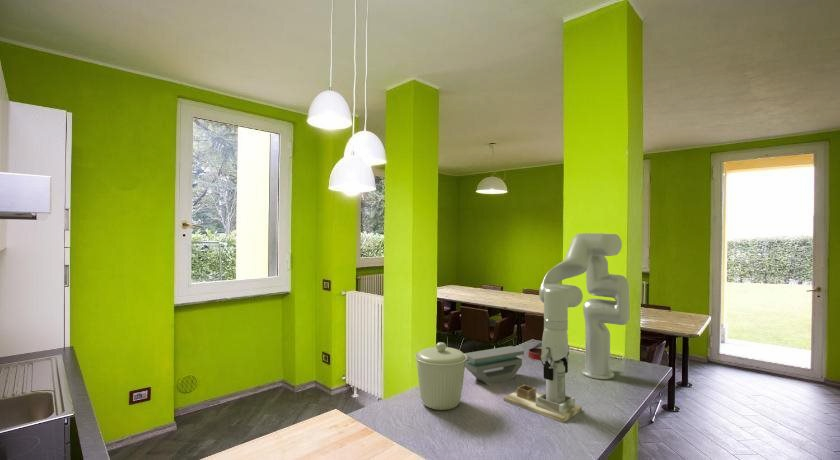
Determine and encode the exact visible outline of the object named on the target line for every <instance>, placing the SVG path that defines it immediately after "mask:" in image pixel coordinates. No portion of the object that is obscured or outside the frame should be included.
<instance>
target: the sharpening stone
mask: <svg viewBox="0 0 840 460" xmlns="http://www.w3.org/2000/svg"><path fill="white" fill-rule="evenodd" d="M463 353H464V352H463ZM464 354H466V355H467V360H466V361H465V368H466V370H467V371H468V372H470V373H471V375H473V376H474V377H475V378H476V379H477V380H479V381H481V382H482V383H485V384H487V385H488V386H490V385H494V384H498V383H503V382H508V381H512V380H513V378H514V377H515V375H516V374H517V373H518V371H519V369H520V368H521V366H522V365H523V359H522V358H520V357H518V356H522V355H523V356H524V355H525V350H523V349H520V348H519V347H515V346H514V345H508V346H502V347H497V348H496V347H495V348H491V349H490V348H489V349H484V350H477V351H472V352H471V351H470V352H465V353H464Z"/></svg>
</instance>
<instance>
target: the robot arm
mask: <svg viewBox="0 0 840 460" xmlns="http://www.w3.org/2000/svg"><path fill="white" fill-rule="evenodd" d="M622 244H623V243H622V239H621V237H620V236H619V235H618V234H617V233H602V232H599V233H596V232H595V233H594V232H593V233H591V232H589V233H587V232H585V233H583V232H582V233H577V234H576V235H574V237H573V238H572V239H571V242H570V245H569V247H568V250H567V252H566V255H565V258H564V260H562V261H561V262H559V263H558V264H555V266H553V267H552V268H551V269H549V270H548V271H547V272H546V274H545V275H544V277H543V280H542V282H541V284H540V287H539V293H538V295H539V296H538V297H539V299H540V301H541V302H542V303H543V331H542V332H543V333H542V338H541V343H542V347H541V349H542V355H541V360H540V361H541V364H542V367H543V379H545V380H546V379H547V380H551V381H552V380H553V368H552V366H553V363H554V361H557V360H562V361H563V364H564V366H565V374H568V373H569V372H568V371H569V368H568V367H569V355H570V348H571V345H569V338H568V328H569V327H568V326H569V325H568V324H569V323H568V322H569V321H568V320H569V319H568V317H569V316H568V313H569V312H568V311H569V309H568V308H576V307H578V306H579V305H580V304H581V303H582V301H583V297H584V295H583V291H582V289H581V288H580V287H578V286H576V285H572V284H564V283H563V284H562V283H559V282H561V281H563V280H567V279H570V278H574V277H578V276H580V275H583V274H584V273H585V276H586V277H585V279H586V281H585V282H586V291H587V293H588V294H589V295H591V296H595V297H603V298H613V299H614V300H611V299H602V298H589V299H587V300H585V301H584V303H583V306H582V310H583V311H582V313H583V316H584V317H583V318H584V323H585V324H584V328H585V329H584V331H585V333H584V334H585V335H584V337H585V345H584V347H585V349H584V350H585V353H584V360H585V361H584V363H585V364H584V367H582V368H581V369H580V370H581V374H582V375H583V376H586V377H588V378H592V379H597V380H611V379H614V378H615V373H614V371H612V370H611V366H612V365H613V364H612V362H611V333H610V330H609V328H608V326H607V325H606V324H610V325H618V326H625V325H626V324H628V323H629V320H630V286H629V282H628V279H627V278H626V277H625V276H624V275H621V274H614V273H613V274H612V273H611V274H610V273H609V261H608V259H607V258H606V257H613V256H617V255H619V253H620V252H621V250H622V248H623V247H622V246H623V245H622ZM548 357H550V358H548ZM548 361H551V362H550V364H549V362H548Z"/></svg>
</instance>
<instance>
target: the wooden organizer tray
mask: <svg viewBox="0 0 840 460" xmlns="http://www.w3.org/2000/svg"><path fill="white" fill-rule="evenodd" d="M503 401H504V402H506V403H509V404H512V405H514V406H517V407H519V406H520V408H522V409H525V410H527V411H530V412H533V413H536V414H539V415H541V416H544V417H547V418H549V419H552V420H554V421H557V422H560V423H562V424H563V423H564V422H566V421H568V420H569V419H571V418H572V417H574V416H575V415H577V414H578V413H580V412H581V411H582V410H583V409H582V406H581V405H577V404H575V403H576V398H575V397H572V396H570V395H567V394H565V402H563V403H562V404H558V403H555V402H552V401H549V400H546V391H545V392H543V393H541V392H539V391H537V388H536V387H533V386H530V385H527V384H522V385H519V386H518V387H516V391H514V392H512V393H510V394H507V395H506V396H503Z"/></svg>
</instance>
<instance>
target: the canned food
mask: <svg viewBox="0 0 840 460" xmlns="http://www.w3.org/2000/svg"><path fill="white" fill-rule="evenodd" d="M541 355H542V342H540V343H538V344H536V345H535V346H533V347H531V348H529V349H528V358H530V359H531V360H532V359H533V360H536V361H542V360H541ZM548 358H550V357H548Z"/></svg>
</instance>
